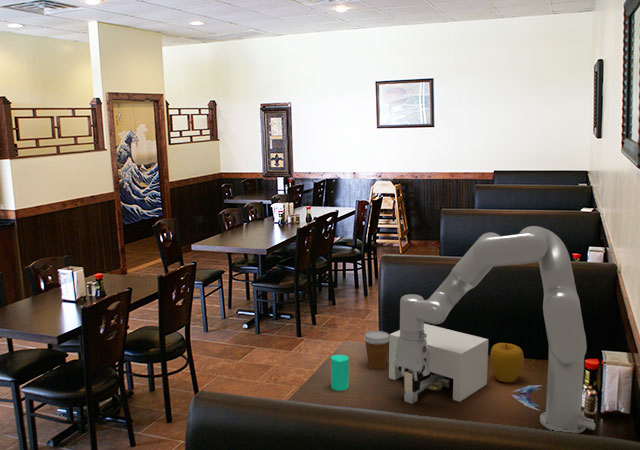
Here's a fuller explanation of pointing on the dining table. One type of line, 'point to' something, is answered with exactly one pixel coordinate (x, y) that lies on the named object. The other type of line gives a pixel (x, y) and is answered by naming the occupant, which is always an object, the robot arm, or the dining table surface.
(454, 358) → the cabinet
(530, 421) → the dining table surface
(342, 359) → the candle
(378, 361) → the disposable coffee cup
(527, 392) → the decorative blades
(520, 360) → the apple
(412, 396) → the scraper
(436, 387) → the brass token
